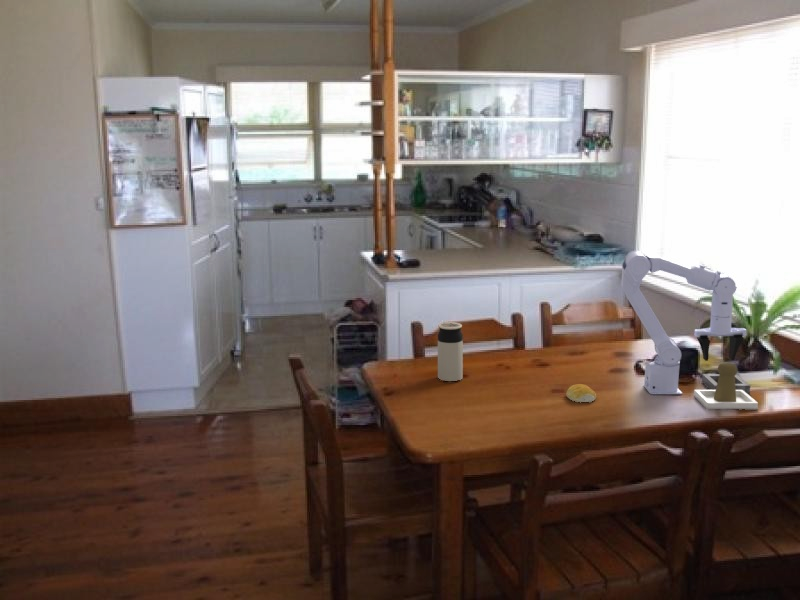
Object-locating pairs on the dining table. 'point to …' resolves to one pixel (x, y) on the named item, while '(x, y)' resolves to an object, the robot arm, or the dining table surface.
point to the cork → (726, 383)
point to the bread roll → (581, 393)
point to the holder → (712, 381)
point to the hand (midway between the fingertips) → (718, 359)
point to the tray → (710, 404)
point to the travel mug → (450, 351)
